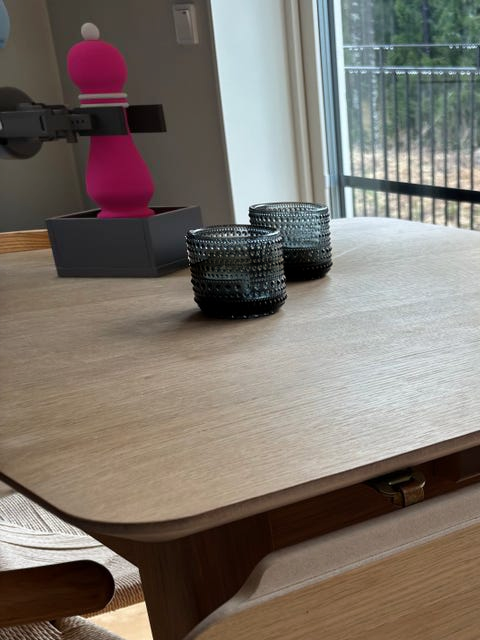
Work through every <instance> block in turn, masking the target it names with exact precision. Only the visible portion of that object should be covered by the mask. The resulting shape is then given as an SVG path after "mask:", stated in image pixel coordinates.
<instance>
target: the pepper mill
mask: <svg viewBox="0 0 480 640" xmlns="http://www.w3.org/2000/svg"><path fill="white" fill-rule="evenodd" d="M80 33H81V36H82V38H83V39H84V41H80V42H78V43H76V44H74V45H73V46H72V47H71V48H70V49H69V51H68V54H67V56H66V57H67V58H66V69H67V73H68V77H69V79H70V81H71V82H72V83H73V84H74V86H75V87H77V88H78V89H79V92H80V93H81V94H78V96H77V98H78V99H79V100H80V106H79V108H81V107H106V106H123V109H124V114H125V119H126V125H127V130H128V135H120V136H89V149H88V157H87V163H86V169H85V185H86V192H87V195H88V197H89V198H90V200H92V201H93V203H95V204H96V205H97V206H98V207H99V208H101V210H102V211H101V212H100V213H99V214H98V215H97V218H135V217H149V216H153V215H155V213H154V211H153V210H151V209H149V208H148V206H149V203H150V202H151V200H152V198H153V197H154V194H155V184H154V180H153V176H152V174H151V172H150V170H149V167H148V165H147V163H146V162H145V160H144V158H143V156H142V155H141V153H140V151H139V149H138V148H137V146H136V144H135V141H134V139H133V137H132V133H130V130H129V126H128V123H127V116H126V108H127V107H128V106H129V105H130V104H129V103H128V99H126V98H128V94H127V93H125V92H123V90H124V89H123V88H124V86H125V84H126V82H127V80H128V75H129V74H128V67H127V64H126V61H125V58H124V56H123V55H122V53H121V52H120V51H119V50H118V48H117V47H115V46H114V45H112V44H111V43H109V42H107V41H102V40H99V38H100V30H99V28H98V27H97V26H96V25H95V24H94V23H92V22H85V23H83V24H82V26H81V29H80Z"/></svg>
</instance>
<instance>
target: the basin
mask: <svg viewBox="0 0 480 640" xmlns="http://www.w3.org/2000/svg"><path fill="white" fill-rule="evenodd" d="M148 208H149V209H151V210H153V211H154V213H155V215H153V216H149V217H135V218H97V215H98V214H99V213H100V212H101V211H102V210H101V208H100V207H99V208H93V209H89V210H83V211H79V212H74V213H69V214H64V215H63V214H62V215H59V216H54V217H50V218H45V219H44V222H45V227H46V231H47V235H48V239H49V243H50V244H49V245H50V248H51V253H52V257H53V261H54V266H55V269H56V275H57V277H58V278H160V277H162V276H165V275H169V274H171V273H174V272H176V271H179V270H182V269H186V268H189V267H190V266H189V259H188V252H187V244H186V237H185V236H186V233H187V232H188V231H190V230H196V229H200V228H204V223H203V216H202V211H201V210H202V209H201V205H158V206H157V205H155V206H149V205H148Z"/></svg>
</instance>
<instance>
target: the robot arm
mask: <svg viewBox="0 0 480 640" xmlns="http://www.w3.org/2000/svg"><path fill="white" fill-rule="evenodd" d="M10 26H11V23H10V17H9V13H8V10H7V7H6V5H5V3H4V1H3V0H0V51H2V50H3V49H4V47H5V45H6V44H7V43H8V40H9V39H8V38H9V36H10ZM126 116H127V123H128V126H129V130H130V134H157V133H158V134H160V133H162V134H163V133H168V130H167V123H166V118H165V113H164V107H163V104H162V103H155V104H153V103H152V104H129V106H128V107H127V108H126ZM120 135H128V130H127V125H126V119H125V114H124V109H123V106H106V107H81V108H80V107H73V106H72V105H71V104H68V103H67V104H52V103H51V102H35V100H34V99H33V98H32V97H31V96H30V94H28V93H27V92H26V91H24V90H22V89H21V88H19V87H15V86H11V85H0V160H5V161H6V160H7V161H9V160H12V161H13V160H14V161H16V160H17V161H21V160H24V161H25V160H30V159H32V158H34V157H35V156H36V155H38V154H39V153H40V151H41V150H42V148H43V145H44V143H47V142H50V143H51V142H58V141H59V140H62V139H63V140H66V144H78V143H79V140H78V136H79V137H90V136H120Z"/></svg>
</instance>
